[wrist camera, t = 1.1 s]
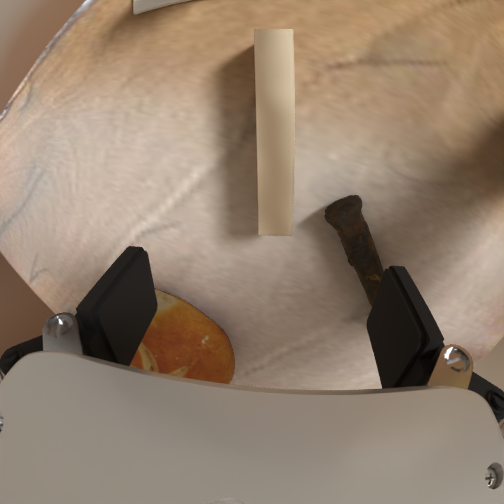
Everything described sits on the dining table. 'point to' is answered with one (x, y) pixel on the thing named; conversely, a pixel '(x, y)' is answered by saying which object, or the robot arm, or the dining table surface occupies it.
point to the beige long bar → (275, 129)
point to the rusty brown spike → (357, 242)
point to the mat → (152, 4)
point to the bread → (185, 343)
